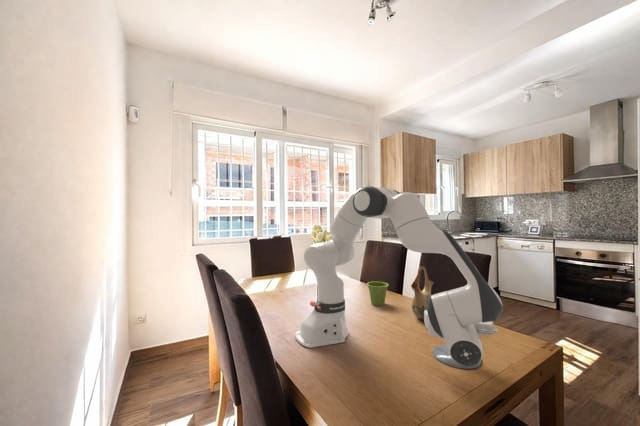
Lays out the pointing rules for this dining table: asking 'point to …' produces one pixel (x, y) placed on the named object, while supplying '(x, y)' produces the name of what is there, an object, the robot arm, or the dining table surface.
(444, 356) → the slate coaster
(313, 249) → the robot arm
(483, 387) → the dining table surface
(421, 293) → the ceramic vessel
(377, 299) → the plant pot
